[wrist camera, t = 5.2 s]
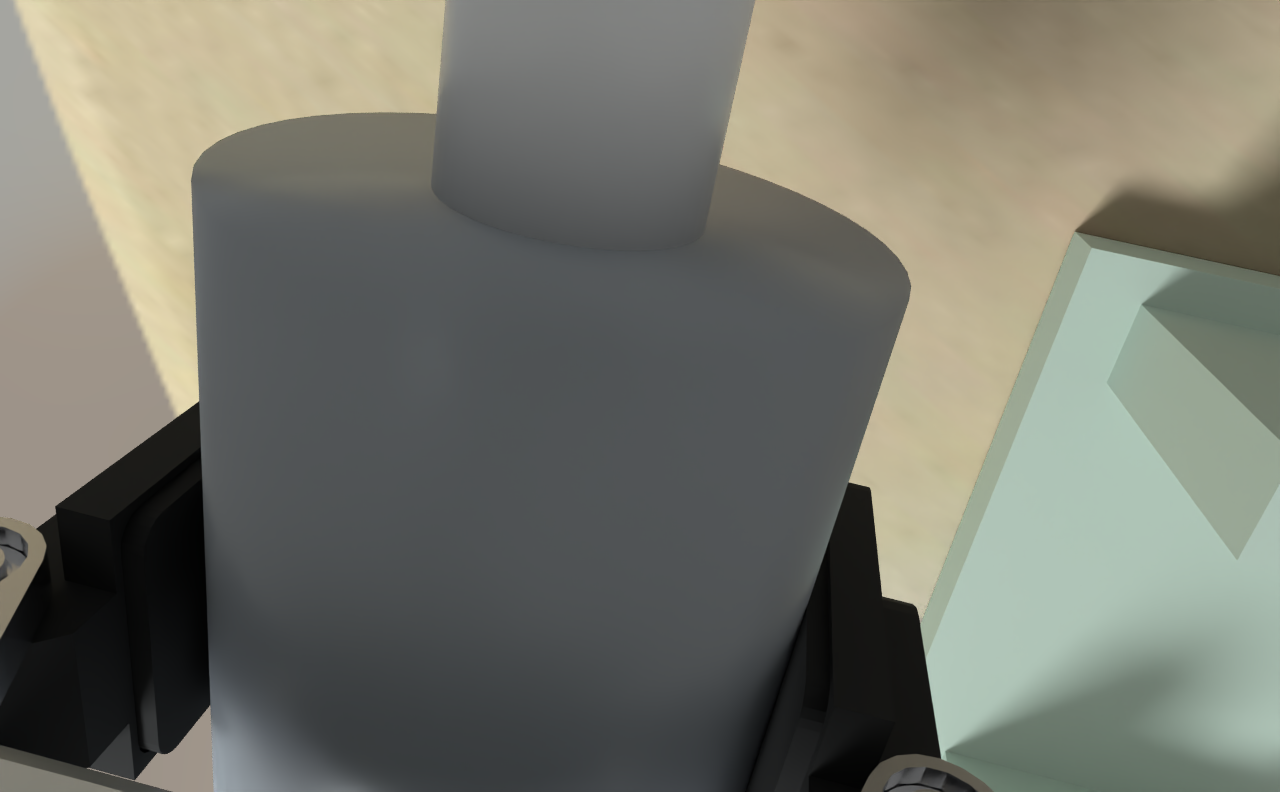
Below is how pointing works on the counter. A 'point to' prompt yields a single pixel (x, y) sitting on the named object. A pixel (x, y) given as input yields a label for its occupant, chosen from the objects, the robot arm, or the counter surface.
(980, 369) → the counter surface
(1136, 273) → the cradle
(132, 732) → the robot arm
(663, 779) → the roll
